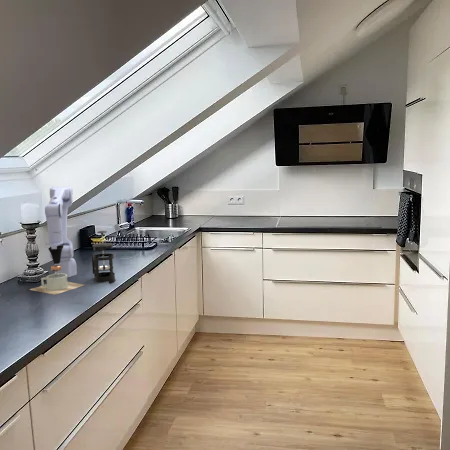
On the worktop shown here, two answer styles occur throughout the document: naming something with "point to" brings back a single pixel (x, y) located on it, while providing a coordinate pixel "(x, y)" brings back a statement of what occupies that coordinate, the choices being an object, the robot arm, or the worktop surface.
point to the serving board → (54, 292)
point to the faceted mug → (55, 282)
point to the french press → (96, 268)
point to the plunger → (56, 270)
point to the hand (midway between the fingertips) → (57, 263)
